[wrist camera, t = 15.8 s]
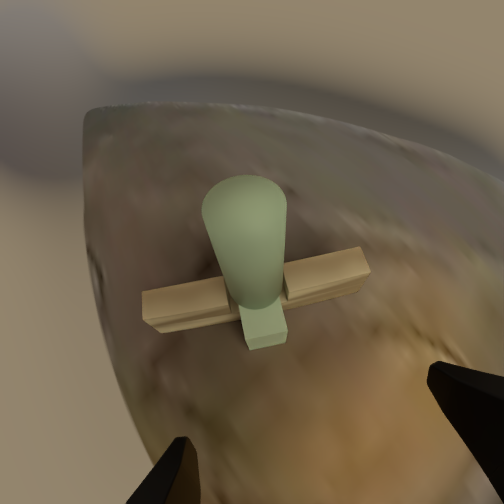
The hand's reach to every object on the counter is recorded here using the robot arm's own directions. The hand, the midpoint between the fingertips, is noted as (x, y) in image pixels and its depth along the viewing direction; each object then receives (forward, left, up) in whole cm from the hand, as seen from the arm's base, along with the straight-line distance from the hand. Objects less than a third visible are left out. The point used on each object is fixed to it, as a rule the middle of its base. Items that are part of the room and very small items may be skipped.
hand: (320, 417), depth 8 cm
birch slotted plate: (+9, +3, -13) cm, 16 cm away
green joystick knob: (+9, +3, -13) cm, 16 cm away
